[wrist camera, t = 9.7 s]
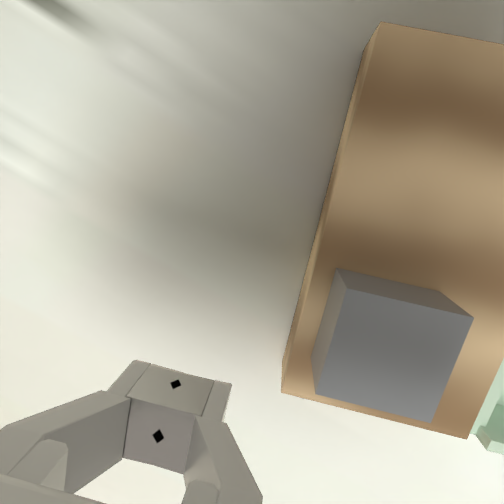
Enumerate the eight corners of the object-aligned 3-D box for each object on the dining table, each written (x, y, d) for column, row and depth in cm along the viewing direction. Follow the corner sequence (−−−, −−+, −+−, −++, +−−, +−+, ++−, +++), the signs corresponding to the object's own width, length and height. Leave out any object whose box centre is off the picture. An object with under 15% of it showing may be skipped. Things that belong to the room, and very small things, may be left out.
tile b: (336, 267, 16) (347, 288, 13) (439, 291, 16) (474, 317, 13) (310, 356, 17) (315, 393, 14) (406, 380, 17) (430, 423, 14)
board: (364, 49, 16) (380, 21, 13) (570, 88, 16) (634, 68, 13) (282, 361, 21) (281, 392, 18) (440, 401, 20) (466, 439, 17)
